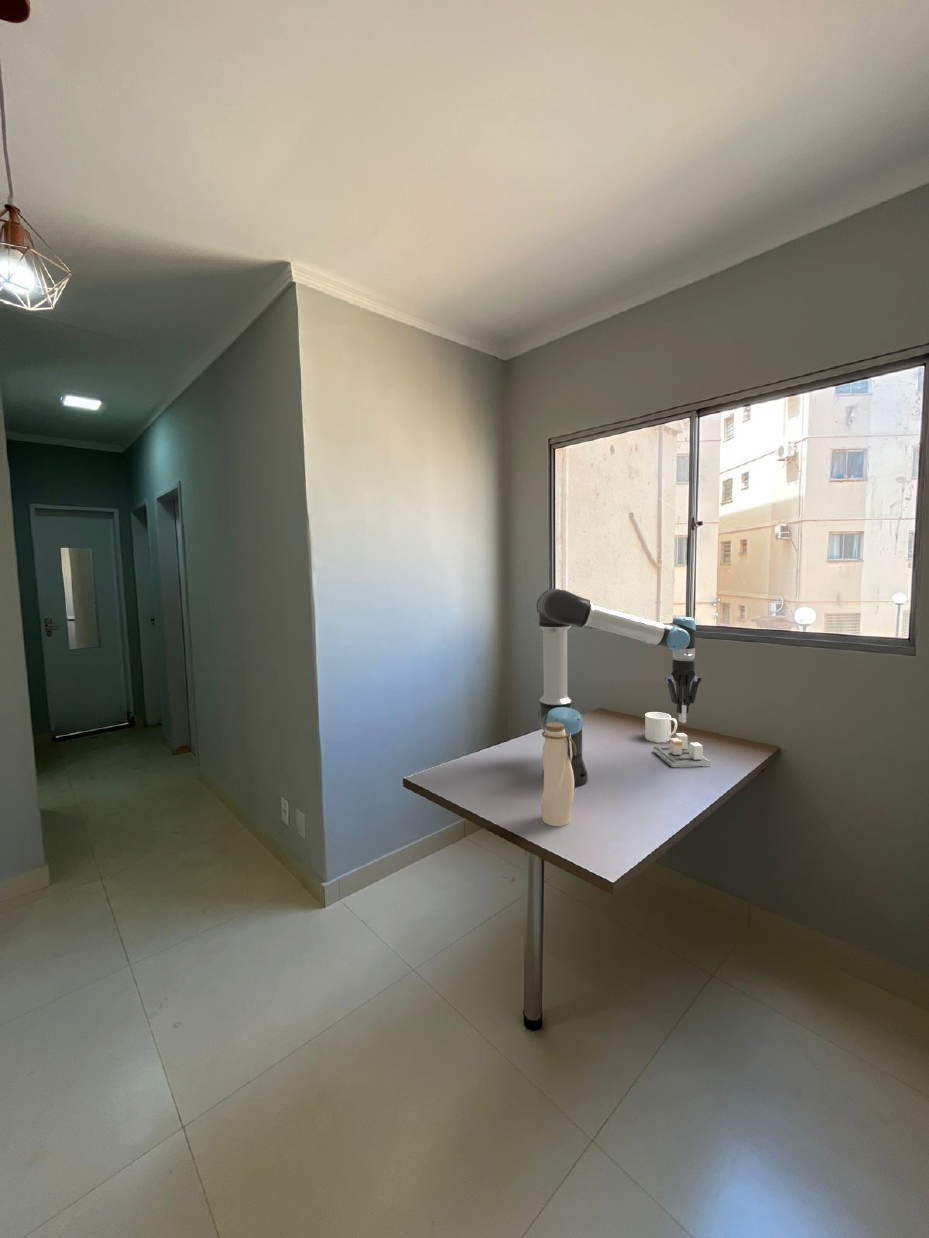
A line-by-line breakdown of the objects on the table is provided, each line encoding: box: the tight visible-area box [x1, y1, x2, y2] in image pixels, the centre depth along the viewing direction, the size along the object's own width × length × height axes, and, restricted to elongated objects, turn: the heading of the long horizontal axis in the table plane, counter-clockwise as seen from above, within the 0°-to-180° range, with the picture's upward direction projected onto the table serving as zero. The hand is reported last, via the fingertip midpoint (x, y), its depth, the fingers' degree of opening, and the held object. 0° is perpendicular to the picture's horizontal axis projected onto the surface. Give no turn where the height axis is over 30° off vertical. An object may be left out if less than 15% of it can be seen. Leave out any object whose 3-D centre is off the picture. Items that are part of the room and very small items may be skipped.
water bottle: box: [539, 722, 576, 827], centre depth 142 cm, size 10×9×28 cm
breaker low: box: [689, 742, 704, 760], centre depth 181 cm, size 3×4×5 cm
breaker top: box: [674, 732, 689, 749], centre depth 192 cm, size 3×4×5 cm
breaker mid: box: [669, 737, 682, 755], centre depth 186 cm, size 3×4×5 cm
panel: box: [652, 745, 711, 768], centre depth 187 cm, size 14×16×2 cm
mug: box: [644, 711, 678, 742], centre depth 208 cm, size 13×10×10 cm
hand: (682, 721), depth 185 cm, fingers closed
